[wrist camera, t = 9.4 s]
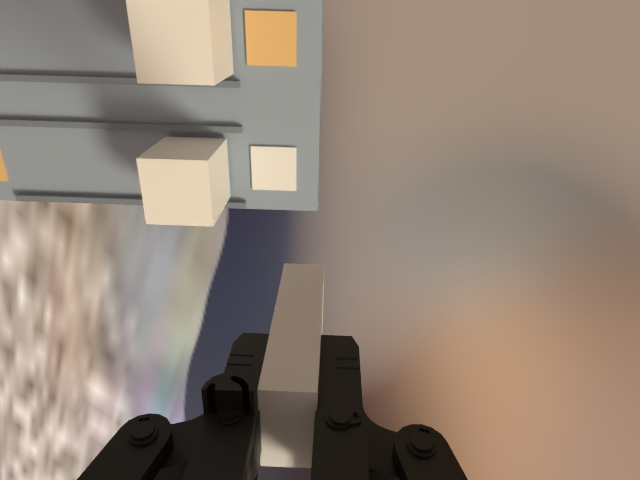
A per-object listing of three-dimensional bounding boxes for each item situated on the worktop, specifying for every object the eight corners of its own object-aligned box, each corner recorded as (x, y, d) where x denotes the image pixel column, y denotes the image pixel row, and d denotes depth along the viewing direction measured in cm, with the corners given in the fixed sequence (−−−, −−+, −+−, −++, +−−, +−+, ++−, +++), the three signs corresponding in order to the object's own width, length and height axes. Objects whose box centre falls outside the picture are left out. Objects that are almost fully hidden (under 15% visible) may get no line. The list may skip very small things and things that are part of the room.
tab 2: (165, 136, 30) (136, 158, 26) (226, 138, 30) (207, 160, 26) (172, 194, 32) (146, 223, 28) (230, 196, 32) (213, 226, 28)
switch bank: (-98, -26, 29) (-134, -29, 27) (323, -16, 28) (322, -18, 26) (-29, 188, 35) (-54, 201, 33) (318, 200, 35) (317, 213, 32)
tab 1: (160, -2, 27) (124, -4, 22) (229, 0, 27) (208, -2, 22) (168, 71, 29) (137, 83, 24) (233, 73, 29) (214, 85, 24)
